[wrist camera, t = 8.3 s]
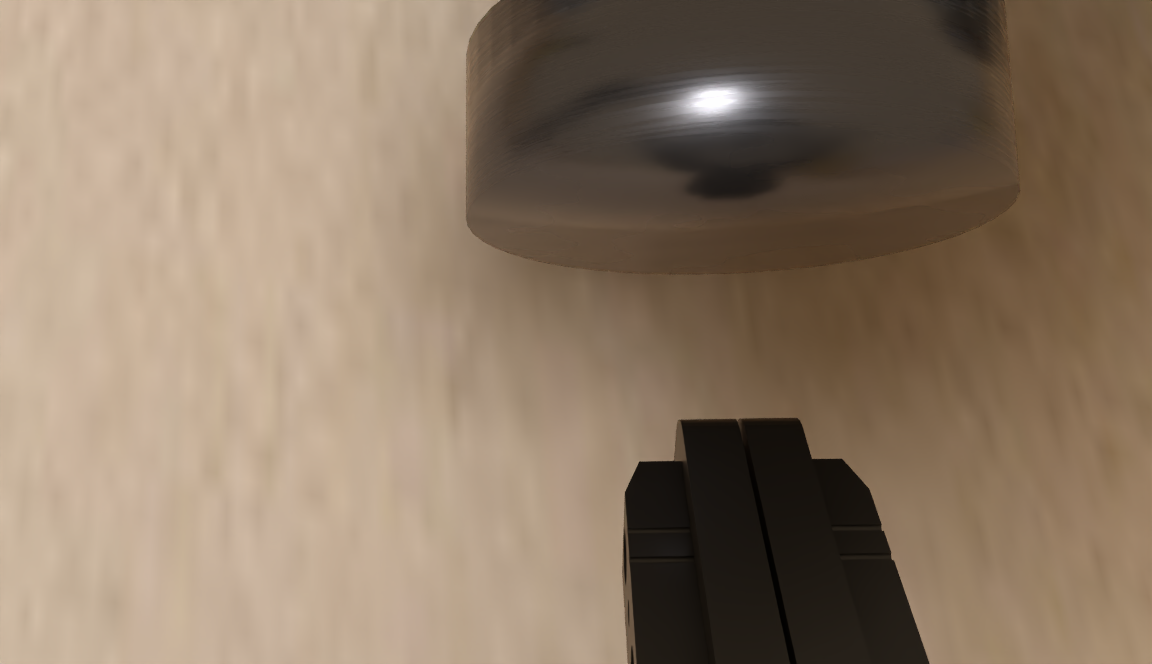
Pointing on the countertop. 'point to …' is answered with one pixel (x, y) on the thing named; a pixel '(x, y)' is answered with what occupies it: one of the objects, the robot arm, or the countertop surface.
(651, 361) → the countertop surface
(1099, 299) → the countertop surface
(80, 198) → the countertop surface
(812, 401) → the countertop surface
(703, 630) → the robot arm
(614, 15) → the knob
